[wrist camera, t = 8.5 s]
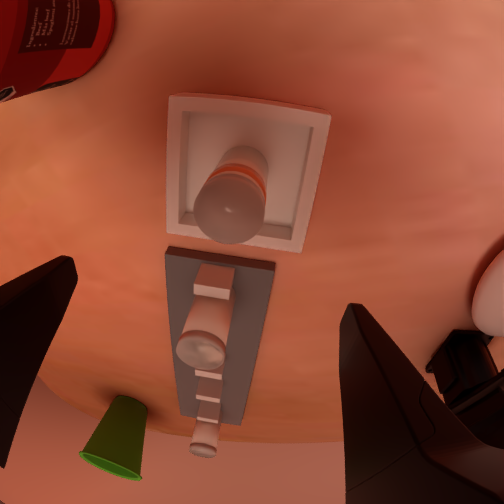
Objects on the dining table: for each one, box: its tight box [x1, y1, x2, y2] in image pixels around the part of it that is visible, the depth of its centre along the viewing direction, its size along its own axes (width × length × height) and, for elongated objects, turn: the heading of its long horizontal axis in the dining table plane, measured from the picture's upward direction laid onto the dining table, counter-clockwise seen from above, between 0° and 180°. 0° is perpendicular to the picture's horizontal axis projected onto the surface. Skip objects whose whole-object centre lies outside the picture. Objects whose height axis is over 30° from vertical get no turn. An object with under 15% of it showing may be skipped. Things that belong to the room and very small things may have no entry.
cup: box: [79, 396, 147, 481], centre depth 35 cm, size 9×9×11 cm
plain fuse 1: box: [176, 287, 236, 370], centre depth 21 cm, size 3×3×6 cm
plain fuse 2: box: [189, 410, 223, 458], centre depth 32 cm, size 3×3×6 cm
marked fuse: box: [193, 146, 268, 244], centre depth 16 cm, size 3×3×6 cm
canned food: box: [0, 0, 115, 103], centre depth 10 cm, size 8×8×11 cm
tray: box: [166, 92, 332, 253], centre depth 18 cm, size 9×9×2 cm
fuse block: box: [165, 247, 275, 426], centre depth 29 cm, size 8×26×3 cm, turn 173°
